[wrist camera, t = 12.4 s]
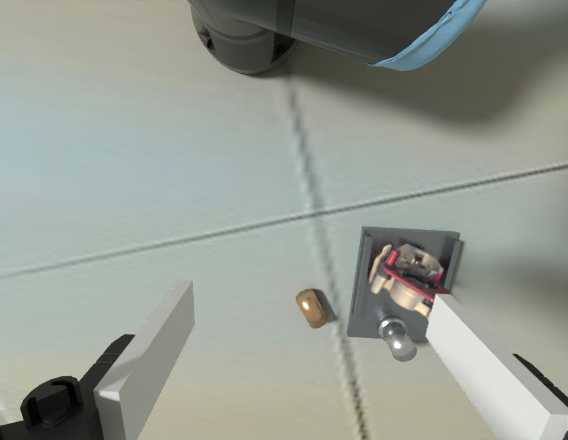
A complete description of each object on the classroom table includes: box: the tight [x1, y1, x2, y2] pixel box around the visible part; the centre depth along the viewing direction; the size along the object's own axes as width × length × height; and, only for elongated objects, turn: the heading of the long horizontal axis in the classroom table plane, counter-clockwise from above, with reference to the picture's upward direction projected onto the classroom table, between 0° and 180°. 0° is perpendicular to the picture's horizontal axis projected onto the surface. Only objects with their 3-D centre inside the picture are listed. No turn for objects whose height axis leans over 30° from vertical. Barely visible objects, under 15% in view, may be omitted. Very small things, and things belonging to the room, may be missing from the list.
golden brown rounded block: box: [296, 289, 327, 328], centre depth 49 cm, size 6×4×4 cm, turn 27°
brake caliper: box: [368, 244, 450, 321], centre depth 44 cm, size 11×11×12 cm
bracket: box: [347, 226, 461, 361], centre depth 46 cm, size 22×16×7 cm
